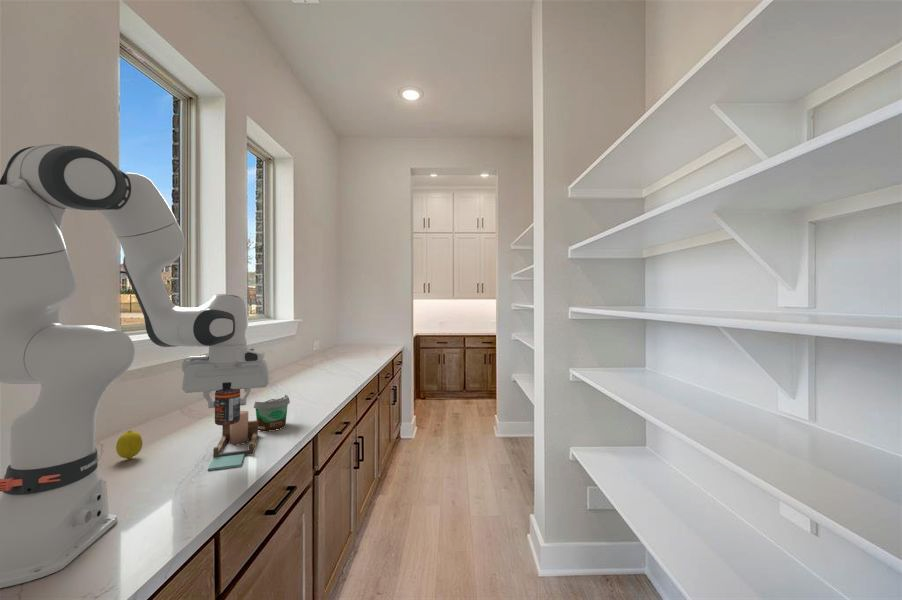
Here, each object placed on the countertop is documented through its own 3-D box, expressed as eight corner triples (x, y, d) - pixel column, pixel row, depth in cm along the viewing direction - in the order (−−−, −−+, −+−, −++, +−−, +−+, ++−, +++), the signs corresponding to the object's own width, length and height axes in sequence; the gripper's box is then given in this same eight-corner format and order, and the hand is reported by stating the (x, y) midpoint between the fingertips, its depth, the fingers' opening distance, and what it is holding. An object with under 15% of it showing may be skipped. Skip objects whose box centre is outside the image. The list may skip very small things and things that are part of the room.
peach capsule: (247, 444, 118) (247, 414, 118) (228, 446, 116) (228, 416, 116) (248, 438, 123) (249, 410, 123) (230, 440, 121) (231, 411, 121)
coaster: (240, 466, 102) (241, 464, 102) (207, 470, 99) (207, 468, 99) (244, 455, 109) (244, 453, 109) (213, 459, 106) (213, 457, 106)
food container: (264, 435, 126) (264, 404, 126) (253, 431, 129) (253, 401, 129) (297, 425, 136) (297, 396, 136) (286, 422, 139) (286, 394, 139)
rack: (252, 454, 110) (253, 436, 110) (213, 459, 106) (213, 441, 106) (257, 435, 125) (257, 420, 125) (223, 439, 122) (223, 423, 122)
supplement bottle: (209, 424, 103) (209, 382, 102) (228, 418, 108) (228, 377, 108) (226, 427, 101) (226, 384, 101) (245, 420, 106) (245, 379, 106)
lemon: (127, 464, 103) (127, 434, 103) (110, 462, 104) (110, 432, 104) (147, 456, 108) (147, 427, 108) (131, 454, 109) (131, 426, 109)
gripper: (178, 358, 98) (178, 413, 98) (268, 354, 105) (268, 405, 105) (185, 354, 103) (185, 406, 103) (269, 351, 111) (269, 399, 111)
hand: (227, 406), depth 104 cm, fingers closed on supplement bottle, 6 cm apart
